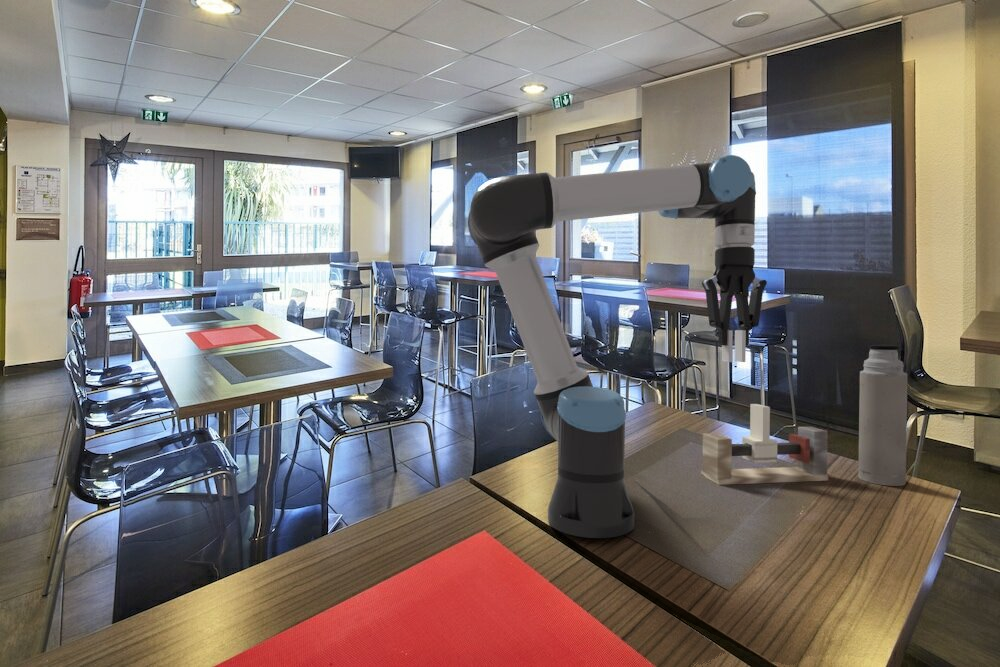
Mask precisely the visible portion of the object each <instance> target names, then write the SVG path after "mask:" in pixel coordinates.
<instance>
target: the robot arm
mask: <svg viewBox="0 0 1000 667" xmlns="http://www.w3.org/2000/svg"><path fill="white" fill-rule="evenodd" d="M756 194H757V191H756V180H755V174H754V172H752V170H751V167H750V165H749V164H748V162H747V161H746V160H745V159H744V158H742V157H741V156H738V155H734V154H728V155H725V156H722V157H718V158H716V159H715V160H714V161H711V162H704V163H694V164H684V165H675V166H664V167H655V168H654V167H653V168H642V169H634V170H633V169H632V170H623V171H611V172H600V173H590V174H589V173H588V174H581V175H580V174H579V175H569V176H568V175H567V176H559V177H557V176H556V177H554V176H553V175H552V174H550V173H549V171H548V172H537V173H522V174H521V173H520V174H514V175H513V174H511V175H510V174H509V175H503V176H502V175H501V176H498V177H494V178H492V179H489V180H488V181H486V182H484V183H483V184H481V185H480V186H479V188H477V190H476V191H475V193H474V195H473V197H472V199H471V202H470V206H469V208H470V209H469V210H470V211H469V213H468V217H467V227H468V228H467V229H468V232H469V235H470V237H471V239H472V241H473V242H474V243H475V245H476V246H477V248H478V251H479V253H480V256H481V259H482V261H483V263H484V266H485V267H486V268H488V269H489V270H493V272H495V274H496V277H497V279H498V282H499V285H500V288H501V289H502V292H503V294H504V298H505V300H506V302H507V305H508V308H509V310H510V312H511V316H512V318H513V321H514V324H515V326H516V329H517V331H518V334H519V337H520V340H521V341H522V344H523V348H524V350H525V352H526V355H527V358H528V361H529V362H530V366H531V368H532V370H533V374H534V375H535V378H536V380H537V381H536V382H537V383H536V386H535V388H534V390H533V394H534V396H535V399H536V401H537V404H538V407H539V410H540V416H541V422H542V425H543V427H544V428H545V430H546V432H547V433H548V434H549V435H550V437H552V438H553V439H555V441H556V442H557V473H558V474H557V479H556V483H555V485H554V488H553V492H552V494H551V495H552V496H551V498H550V501H549V503H548V508H547V522H548V524H549V525H550V526H551V527H552V528H553V529H555V530H557V531H559V532H562V533H563V534H566V535H571V536H574V537H580V538H590V539H592V538H593V539H607V538H616V537H620V536H624V535H626V534H628V533H630V532H631V531H633V530H634V529H635V511H634V507H633V504H632V501H631V498H630V494H629V491H628V489H627V485H626V482H625V450H626V449H625V448H626V447H625V445H626V442H625V438H626V431H625V430H626V417H627V414H626V410H625V400H624V397H623V396H622V395H621V394H620V393H618V392H616V391H614V390H613V389H607V388H603V387H599V386H593V383H592V380H591V377H590V375H589V373H588V371H586V370H584V369H583V368H580V367H579V366H578V365H577V362H576V360H575V357H574V354H573V351H572V349H571V345H570V344H569V341H568V339H567V336H566V332H565V331H564V327H563V326H562V325H563V324H562V323H561V319H560V317H559V314H558V311H557V309H556V306H555V304H554V301H553V299H552V296H551V294H550V291H549V288H548V285H547V283H546V281H545V277H544V276H543V272H542V270H541V268H540V265H539V262H538V259H537V257H536V255H537V252H538V249H539V247H540V244H539V241H538V238H537V235H536V233H535V231H538V230H544V229H545V230H546V229H552V228H554V226H555V225H556V224H557V223H559V222H566V221H575V220H584V219H585V220H586V219H594V218H603V217H611V216H621V215H630V214H631V215H632V214H642V213H650V212H656V211H657V212H658V213H659V215H660V216H661V217H663V218H666V219H667V218H669V219H675V220H678V219H710V220H711V219H714V223H715V224H714V230H715V231H714V246H715V247H716V248H717V249H715V251H714V267H715V271H714V272H713V276H712V277H710V278H708V279H703V280H702V282H701V285H702V287H703V289H704V291H705V298H706V306H707V308H706V309H707V314H708V316H707V318H708V324H709V327H712V328H715V329H716V330H718V345H719V346H721V362H725V363H733V346H734V362H737V363H738V362H740V363H746V352H747V350H746V346H749V343H750V331H751V330H753V328H756V327H759V325H760V324H759V323H760V317H761V308H762V301H763V294H764V293H763V292H764V290H765V288H766V286H767V283H768V282H767V280H766V279H760V278H759V277H757V276H756V273H755V270H754V266H755V252H756V251H755V248H754V247H752V246H754V245H755V238H756V236H755V234H756V232H755V231H756V228H755V226H756V225H755V224H756V223H755V221H756V219H755V218H756ZM717 286H718V287H719V296H718V289H717ZM749 287H751V289H749ZM750 290H751V291H750ZM719 297H720V301H719ZM733 297H734V298H735V304H736V314H737V324H738V329H736V330H733V329H730V322H731V315H732V314H731V312H732V304H733V303H732V302H733ZM729 329H730V330H729ZM733 331H734V332H733ZM733 333H734V338H733ZM733 339H734V340H733ZM733 342H734V344H733Z"/></svg>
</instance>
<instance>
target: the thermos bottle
mask: <svg viewBox="0 0 1000 667" xmlns="http://www.w3.org/2000/svg"><path fill="white" fill-rule="evenodd" d="M899 349H900V348H899V345H892V344H871V345H869V353H868V358H867V359H865V360H864V361H863V364H862V365H863V370H861V371H859V401H858V402H859V406H858V407H859V408H858V409H859V410H858V411H859V415H858V421H859V422H858V475H857V476H858V478H859V479H860V480H861V481H863V482H866V483H871V484H873V485H874V484H875V485H881V486H889V487H899V486H900V487H901V486H905V485H906V484H907V435H908V434H907V430H908V428H907V426H908V425H907V424H908V422H907V421H908V373H907V372H904V367H905V365H904V362H903V361H902V360H900V359H899V352H898V350H899Z"/></svg>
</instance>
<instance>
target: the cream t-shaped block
mask: <svg viewBox="0 0 1000 667" xmlns="http://www.w3.org/2000/svg"><path fill="white" fill-rule="evenodd" d="M749 411H750V412H749V413H750V416H749V418H750V420H749V436H743V437H742V439H741V440H742V442H741V444H750V445H752V456H741V458H743V459H745V460H747V461H749V462H752V463H754V464H758V463H759V464H761V463H762V464H764V463H765V464H766V463H778V455H777V443H778V440H775V439H773V438H770V437H771V436H770V434H771V432H770V429H771V428H770V427H771V426H770V425H771V424H770V423H771V422H770V421H771V419H770V418H771V416H770V415H771V407H770V406H767V405H765V404H764V405H763V404H759V403H750V410H749Z"/></svg>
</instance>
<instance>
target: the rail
mask: <svg viewBox="0 0 1000 667" xmlns="http://www.w3.org/2000/svg"><path fill="white" fill-rule="evenodd" d="M778 455H780V456H783V455H785V456H786V455H788V457H789V458H790V459H793V460H796V461H797V466H789V467H782V466H781V467H763V468H762V467H759V468H758V467H756V468H732V466H733V465H732V460H733V459H732V457H742V456H752V445H750V444H742V443H736V444H735V443H732V438H730V437H728V436H725V435H723V434H719V433H717V432H710V433H709V432H708V433H707V432H706V433H705V432H704V433H703V432H702V470H700V475H701V474H703V475H704V476H705V477H704V476H703V477H704V478H706V479H708V480H710V481H711V482H713V483H715V484H716V485H719V486H720V485H744V484H745V485H746V484H747V485H749V484H771V483H773V484H774V483H777V484H778V483H797V482H798V483H799V482H821V481H822V482H823V481H829V474H828V430H825V429H821V428H817V427H814V426H797V434H795V433H789V434H788V442H777V456H778Z"/></svg>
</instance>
